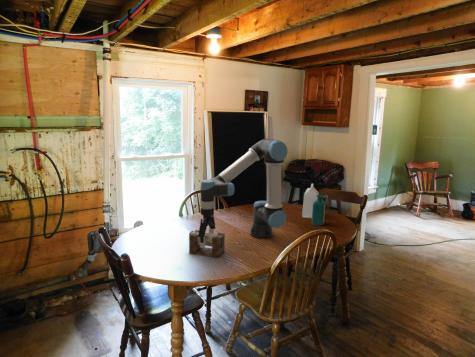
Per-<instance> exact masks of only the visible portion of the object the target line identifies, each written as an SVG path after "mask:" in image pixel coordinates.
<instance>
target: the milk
mask: <svg viewBox="0 0 475 357" xmlns="http://www.w3.org/2000/svg"><path fill="white" fill-rule="evenodd" d="M316 195H320V194H319V191H318V190H317V189H316V188H315V186H314V183H311V184H310V187H307V189H306V190H305V192H304V194H303V204H302V211H301V212H302V213H301V217H302V218H307V219H312V210H313V203H314V201H316V200H317V196H316Z"/></svg>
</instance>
